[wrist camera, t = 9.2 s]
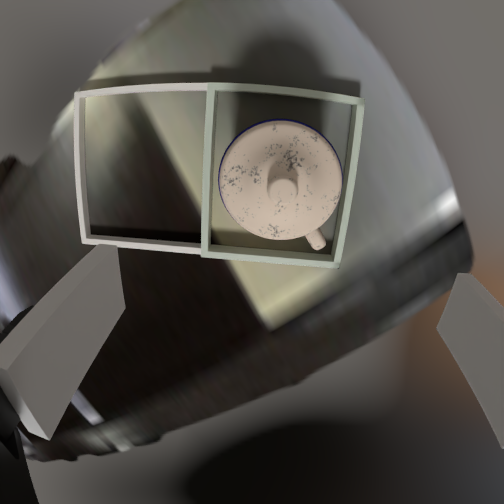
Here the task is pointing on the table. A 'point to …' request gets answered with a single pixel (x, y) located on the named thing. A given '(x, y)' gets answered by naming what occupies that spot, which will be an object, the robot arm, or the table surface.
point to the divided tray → (207, 184)
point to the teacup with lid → (281, 180)
